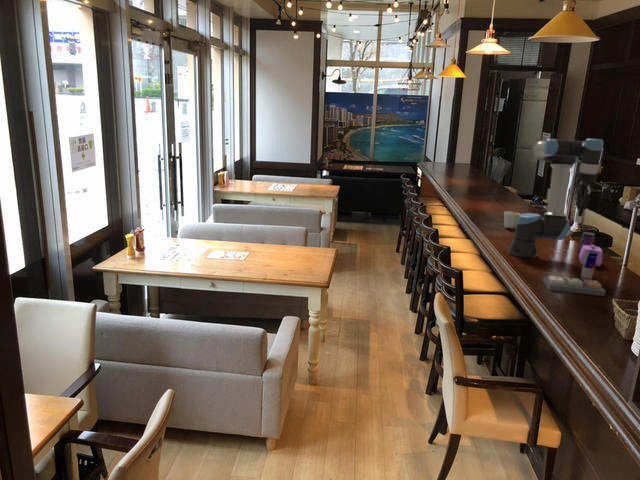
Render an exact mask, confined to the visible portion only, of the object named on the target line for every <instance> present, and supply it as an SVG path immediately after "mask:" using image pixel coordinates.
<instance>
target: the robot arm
mask: <svg viewBox="0 0 640 480" xmlns="http://www.w3.org/2000/svg"><path fill="white" fill-rule="evenodd" d="M603 149H604V140H603V139H599V138H586V139H585V140H582V141H581V140H571V139H570V140H566V139H555V138H547V139H544V140H538V141H536V142H534V143H533V145H532V146H531V149H530V151H531V155H532V156H533V157H534V158H535V159H537V160H540V161H542V162H548V163H550V167H551V168H552V171H551V179H550V186H549V188H550V189H549V194H548V195H549V196H548V202H547V211H546V212H544V213H543V217H542V215H540V214H539V213H534V212H533V213H532V212H527V213H520V215H519V216H518V219H517V222H516V227H515V232H514V237H513V240H512V242H511V244H510V246H509V248H508V253H509V254H510V255H511V254H512V255H511V256H514V257H517V256H518V257H517V258H522V257H524V258H525V259H534V258H535V259H536V258H537V256H538V250H537V243H536V242H537V239H544V240H553V241H563V240H564V239H565V238H566V236H567V235H568V233H569V230H570V226H571V225H570V220H569V219H567V215H566V214H565V210H566V209H565V208H566V201H567V194H568V187H569V186H568V185H569V178H570V171H571V169H573V168H574V165H575V164H576V165H577V163H578V162H579V158H581V161H580V164H579V172H578V175H577V181H578V182H580V184H579V185H577V192H576V201H575V207H576V212H575V215H574V216H575V217H574V223H579V224H582V222H583V216H584V213H585V210H587V209H588V204H589V201H590V198H591V195H592V193H593V189H592V184H593V183H595V182H596V181H597V176H598V175H597V173H598V172H599V167H600V163H601V157H602V153H603Z"/></svg>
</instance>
